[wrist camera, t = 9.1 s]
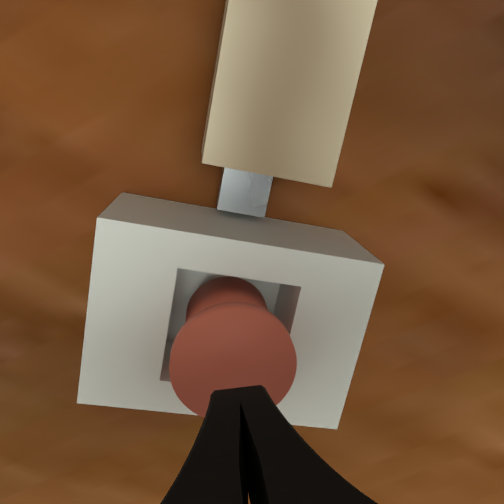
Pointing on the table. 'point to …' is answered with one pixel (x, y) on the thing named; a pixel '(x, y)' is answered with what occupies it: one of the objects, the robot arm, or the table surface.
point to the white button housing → (210, 267)
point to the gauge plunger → (230, 345)
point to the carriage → (285, 86)
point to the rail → (243, 192)
